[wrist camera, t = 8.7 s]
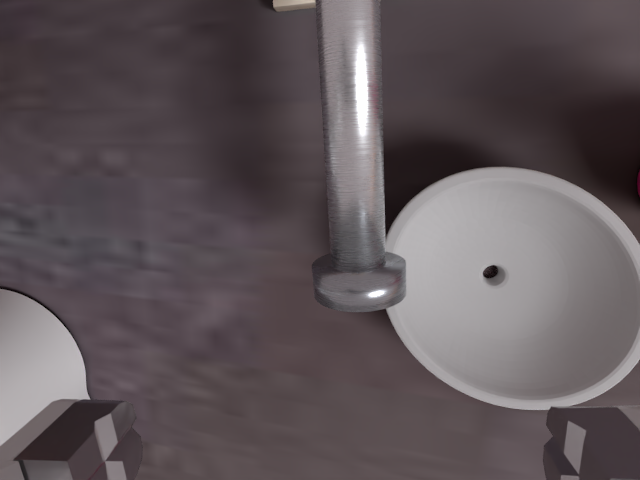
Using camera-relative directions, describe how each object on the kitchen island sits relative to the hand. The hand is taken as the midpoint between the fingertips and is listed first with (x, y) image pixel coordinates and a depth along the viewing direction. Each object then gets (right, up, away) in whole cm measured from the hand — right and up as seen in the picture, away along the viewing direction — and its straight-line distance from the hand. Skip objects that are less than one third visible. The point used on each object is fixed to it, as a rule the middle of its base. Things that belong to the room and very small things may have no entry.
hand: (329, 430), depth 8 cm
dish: (+12, +2, +21) cm, 24 cm away
